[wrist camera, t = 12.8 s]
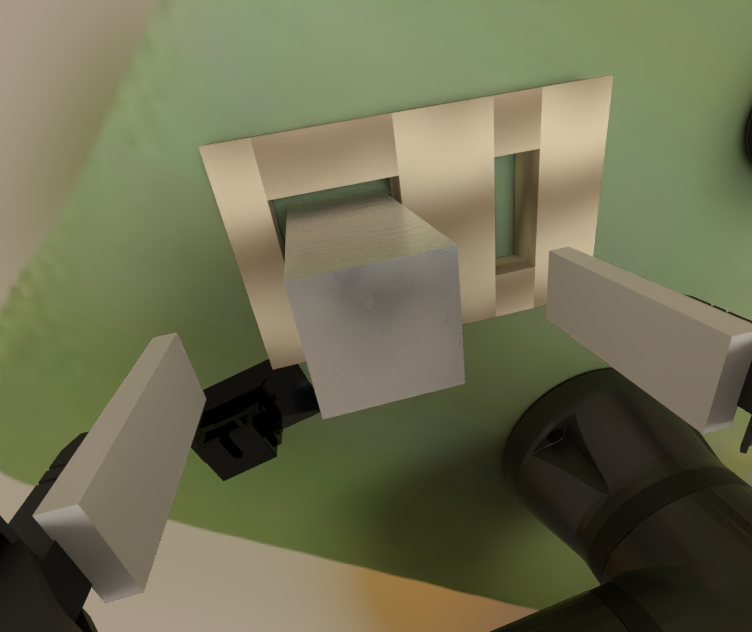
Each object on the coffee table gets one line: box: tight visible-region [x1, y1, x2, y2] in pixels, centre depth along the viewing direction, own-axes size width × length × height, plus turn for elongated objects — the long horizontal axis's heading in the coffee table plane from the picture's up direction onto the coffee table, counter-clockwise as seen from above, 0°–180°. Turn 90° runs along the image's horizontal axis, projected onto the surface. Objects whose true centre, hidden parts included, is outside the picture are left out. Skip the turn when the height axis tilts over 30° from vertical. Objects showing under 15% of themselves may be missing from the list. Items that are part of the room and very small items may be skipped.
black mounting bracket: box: [191, 359, 321, 481], centre depth 25 cm, size 12×7×5 cm, turn 112°
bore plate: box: [198, 75, 613, 369], centre depth 22 cm, size 12×20×2 cm, turn 99°
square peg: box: [284, 186, 465, 419], centre depth 17 cm, size 5×5×12 cm
